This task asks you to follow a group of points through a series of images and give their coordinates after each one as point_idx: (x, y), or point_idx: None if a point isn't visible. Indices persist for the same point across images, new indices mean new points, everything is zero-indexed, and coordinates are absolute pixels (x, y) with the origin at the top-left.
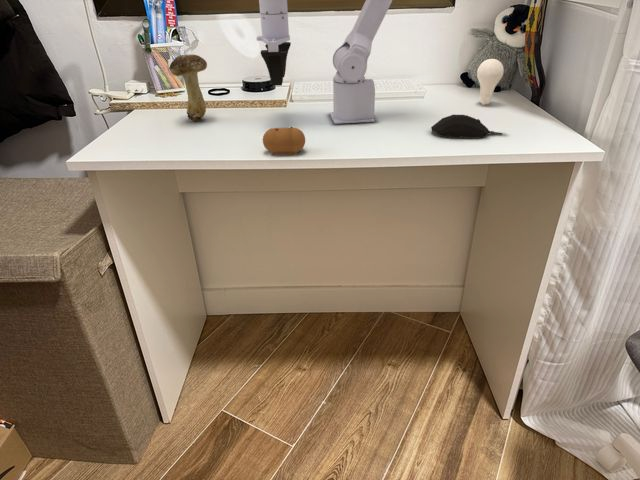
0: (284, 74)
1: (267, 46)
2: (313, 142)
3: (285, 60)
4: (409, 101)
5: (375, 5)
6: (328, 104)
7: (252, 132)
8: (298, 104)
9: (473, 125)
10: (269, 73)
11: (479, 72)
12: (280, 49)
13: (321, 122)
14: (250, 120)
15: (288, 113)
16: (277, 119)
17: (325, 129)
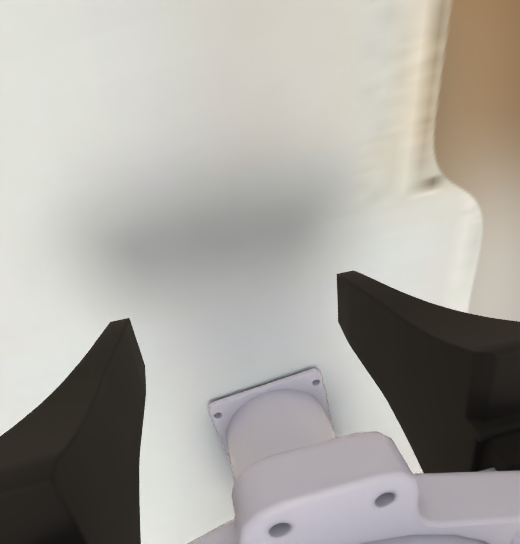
0: (345, 333)
1: (472, 371)
2: (5, 388)
3: (389, 402)
4: None
5: None
6: None
7: (44, 127)
8: (455, 229)
9: None
10: (74, 370)
11: None
12: (440, 443)
13: (228, 360)
14: (227, 61)
15: (336, 220)
16: (252, 195)
17: (154, 388)
